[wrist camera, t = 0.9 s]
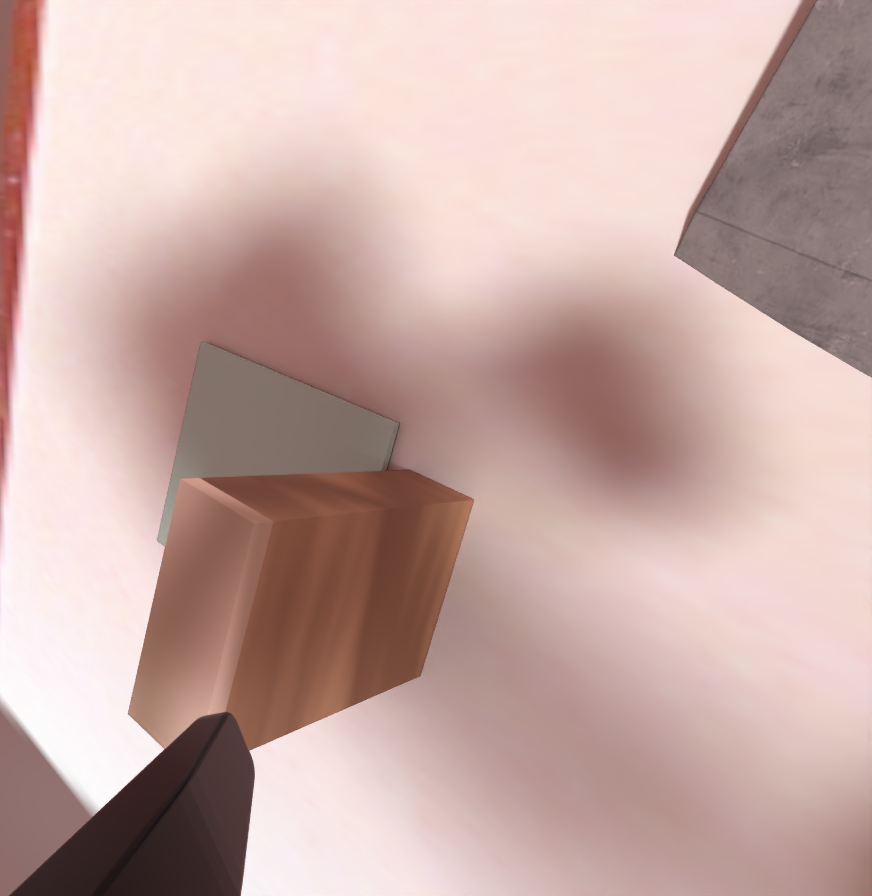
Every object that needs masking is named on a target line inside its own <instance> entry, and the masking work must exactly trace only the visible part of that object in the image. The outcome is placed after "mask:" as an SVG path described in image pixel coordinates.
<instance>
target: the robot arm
mask: <svg viewBox="0 0 872 896" xmlns="http://www.w3.org/2000/svg"><path fill="white" fill-rule="evenodd" d="M254 779H255V770H254V764H253V760H252V757H251V754H250V752H249V749H248V747H247V744H246V742H245V739H244V737H243V735H242V732H241V730H240V727H239V725H238V722H237V720H236V718H235V717H234V716H233V714H231V713H229V712H222V713H216V714H211V715H206V716H202V717H199V718H198V719H196V720H195V721H194V722H193V723H192V724H191V725H190V726H189V727H188V728H187V729H186V730H185V731H184V732H182V733H181V734H180V735H179V736H178V737H177V738H176V739H175V740H174V741H173V742H172V743H171V744H170V745H169V746H168V747H167V748H165V749H164V750H163V751H162V752H161V753H160V754H159V755H158V756H157V757H156V758H155V759H154V760H153V761H152V762H151V763H150V764H148V765H147V766H146V767H145V768H144V769H143V770H142V771H141V772H140V773H139V774H138V775H137V776H136V777H135V778H134V779H133V780H131V781H130V782H129V783H128V784H127V785H126V786H125V787H124V788H123V789H122V790H121V791H120V792H119V793H118V794H117V795H115V796H114V797H113V798H112V799H111V800H110V801H109V802H108V803H107V804H106V805H105V806H104V807H103V808H102V809H101V810H100V811H98V812H97V813H96V814H95V815H94V816H93V817H92V818H91V819H90V820H89V821H88V822H87V823H86V824H85V825H84V826H82V827H81V828H80V829H79V830H78V831H77V832H76V833H75V834H74V835H73V836H72V837H71V838H70V839H69V840H68V841H67V842H65V843H64V844H63V845H62V846H61V847H60V848H59V849H58V850H57V851H56V852H55V853H54V854H53V855H52V856H51V857H49V858H48V860H46V861H45V862H44V863H43V864H42V865H41V866H40V867H39V868H38V869H37V870H36V871H35V872H34V873H32V875H30V877H28V878H27V879H26V880H25V881H24V882H23V883H22V884H21V885H20V886H19V887H18V888H17V889H16V890H14V891H13V892H12V893H11V894H10V895H9V896H241V890H242V883H243V875H244V867H245V858H246V849H247V841H248V832H249V823H250V814H251V806H252V797H253V788H254Z"/></svg>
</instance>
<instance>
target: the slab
mask: <svg viewBox="0 0 872 896" xmlns="http://www.w3.org/2000/svg"><path fill="white" fill-rule="evenodd" d="M473 502H474V499H472V498H470V497H468V496H465V495H463V494H461V493H459V492H457V491H455V490H452V489H450V488H448V487H446V486H444V485H442V484H439V483H437V482H435V481H433V480H431V479H429V478H426V477H424V476H422V475H420V474H418V473H415V472H413V471H411V470H392V471H366V472H340V473H314V474H288V475H262V476H236V477H210V478H184V479H180V482H179V487H178V491H177V496H176V500H175V505H174V509H173V514H172V518H171V523H170V527H169V532H168V536H167V541H166V545H165V550H164V554H163V558H162V563H161V567H160V572H159V576H158V581H157V585H156V590H155V594H154V599H153V603H152V608H151V612H150V617H149V621H148V626H147V630H146V635H145V639H144V644H143V648H142V653H141V657H140V662H139V666H138V670H137V675H136V679H135V684H134V688H133V693H132V697H131V702H130V706H129V711H128V715H130V716H131V717H132V718H133V719H134V720H135V721H136V722H137V723H138V724H139V725H140V726H141V727H142V728H143V729H144V730H145V731H146V732H147V733H148V734H149V735H150V736H151V737H152V738H153V739H155V740H156V741H157V742H158V743H159V744H160V745H161V746H162V747H163V748H164V749H165V748H167V747H168V746H169V745H170V744H171V743H172V742H173V741H174V740H175V739H176V738H177V737H178V736H179V735H180V734H181V733H182V732H184V731H185V730H186V729H187V728H188V727H189V726H190V725H191V724H192V723H193V722H194V721H195V720H196V719H198V718H199V717H202V716H206V715H211V714H216V713H222V712H229V713H231V714H233V716H234V717H235V718H236V720H237V722H238V725H239V727H240V730H241V732H242V735H243V737H244V739H245V742H246V744H247V747H248V749H249V751H250V750H252V749H254V748H257V747H259V746H261V745H263V744H266V743H268V742H270V741H273V740H275V739H277V738H279V737H282V736H284V735H286V734H289V733H291V732H293V731H295V730H298V729H300V728H302V727H305V726H307V725H309V724H311V723H314V722H316V721H318V720H321V719H323V718H325V717H327V716H330V715H332V714H334V713H337V712H339V711H341V710H343V709H346V708H348V707H350V706H353V705H355V704H357V703H359V702H362V701H364V700H366V699H369V698H371V697H373V696H375V695H378V694H380V693H382V692H385V691H387V690H389V689H391V688H394V687H396V686H398V685H401V684H403V683H405V682H407V681H410V680H412V679H414V678H417V677H419V676H421V672H422V669H423V666H424V662H425V659H426V656H427V653H428V649H429V646H430V643H431V640H432V636H433V633H434V630H435V626H436V623H437V620H438V617H439V613H440V610H441V607H442V604H443V600H444V597H445V594H446V591H447V587H448V584H449V581H450V577H451V574H452V571H453V568H454V564H455V561H456V558H457V555H458V551H459V548H460V545H461V541H462V538H463V535H464V532H465V528H466V525H467V522H468V519H469V515H470V512H471V509H472V505H473Z"/></svg>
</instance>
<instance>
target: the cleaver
mask: <svg viewBox="0 0 872 896" xmlns="http://www.w3.org/2000/svg"><path fill="white" fill-rule="evenodd" d="M674 256H676V257H677V258H679V259H680V260H682V261H683V262H685V263H686V264H688V265H690V266H691V267H693V268H694V269H696V270H697V271H699V272H700V273H702V274H703V275H705V276H706V277H708V278H709V279H711V280H712V281H714V282H716V283H717V284H719V285H720V286H722V287H723V288H725V289H727V290H728V291H730V292H731V293H733V294H734V295H736V296H738V297H739V298H741V299H742V300H744V301H745V302H747V303H749V304H750V305H752V306H753V307H755V308H756V309H758V310H760V311H761V312H763V313H764V314H766V315H767V316H769V317H771V318H772V319H774V320H775V321H777V322H778V323H780V324H782V325H783V326H785V327H786V328H788V329H790V330H791V331H793V332H794V333H796V334H798V335H800V336H801V337H803V338H805V339H806V340H808V341H810V342H811V343H813V344H815V345H817V346H818V347H820V348H822V349H823V350H825V351H827V352H829V353H830V354H832V355H834V356H835V357H837V358H839V359H840V360H842V361H844V362H846V363H847V364H849V365H851V366H852V367H854V368H856V369H858V370H859V371H861V372H863V373H864V374H866V375H868V376H870V377H872V0H817V1H816V2H815V4H814V6H813V8H812V9H811V11H810V13H809V14H808V16H807V18H806V20H805V21H804V23H803V25H802V27H801V28H800V30H799V32H798V34H797V35H796V37H795V39H794V41H793V42H792V44H791V46H790V48H789V49H788V51H787V53H786V55H785V56H784V58H783V60H782V62H781V63H780V65H779V67H778V69H777V70H776V72H775V74H774V76H773V77H772V79H771V81H770V82H769V84H768V86H767V88H766V89H765V91H764V93H763V95H762V96H761V98H760V100H759V102H758V103H757V105H756V107H755V109H754V110H753V112H752V114H751V116H750V117H749V119H748V121H747V123H746V124H745V126H744V128H743V130H742V131H741V133H740V135H739V137H738V138H737V140H736V142H735V144H734V145H733V147H732V149H731V150H730V152H729V154H728V156H727V157H726V159H725V161H724V163H723V164H722V166H721V168H720V170H719V171H718V173H717V175H716V177H715V178H714V180H713V182H712V184H711V185H710V187H709V189H708V191H707V192H706V194H705V196H704V198H703V199H702V201H701V203H700V205H699V206H698V208H697V210H696V212H695V214H694V216H693V218H692V220H691V222H690V224H689V226H688V228H687V230H686V232H685V234H684V236H683V238H682V240H681V242H680V244H679V246H678V248H677V250H676V252H675V254H674Z"/></svg>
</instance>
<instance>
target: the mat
mask: <svg viewBox="0 0 872 896" xmlns="http://www.w3.org/2000/svg"><path fill="white" fill-rule="evenodd" d="M398 427H399V423H397V422H395V421H392V420H390V419H388V418H385V417H383V416H381V415H378V414H376V413H373V412H371V411H369V410H366V409H364V408H361V407H359V406H357V405H354V404H352V403H350V402H347V401H345V400H342V399H340V398H338V397H335V396H333V395H331V394H328V393H326V392H323V391H321V390H319V389H316V388H314V387H311V386H309V385H307V384H304V383H302V382H300V381H297V380H295V379H292V378H290V377H288V376H285V375H283V374H280V373H278V372H276V371H273V370H271V369H269V368H266V367H264V366H261V365H259V364H257V363H254V362H252V361H249V360H247V359H245V358H242V357H240V356H238V355H235V354H233V353H230V352H228V351H226V350H223V349H221V348H218V347H216V346H214V345H211V344H209V343H207V342H201V343H200V348H199V352H198V357H197V361H196V366H195V370H194V375H193V379H192V384H191V388H190V393H189V397H188V402H187V406H186V411H185V416H184V420H183V425H182V429H181V434H180V438H179V443H178V447H177V452H176V456H175V461H174V465H173V470H172V474H171V479H170V483H169V488H168V493H167V497H166V502H165V506H164V511H163V515H162V520H161V524H160V529H159V533H158V538H157V541H158V542H159V543H161V544H162V545H164V546H165V545H166V541H167V536H168V532H169V527H170V523H171V518H172V514H173V509H174V505H175V500H176V496H177V491H178V487H179V482H180V479H184V478H210V477H236V476H262V475H288V474H314V473H340V472H366V471H386V470H387V466H388V463H389V459H390V456H391V452H392V449H393V445H394V441H395V438H396V434H397V431H398Z"/></svg>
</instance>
